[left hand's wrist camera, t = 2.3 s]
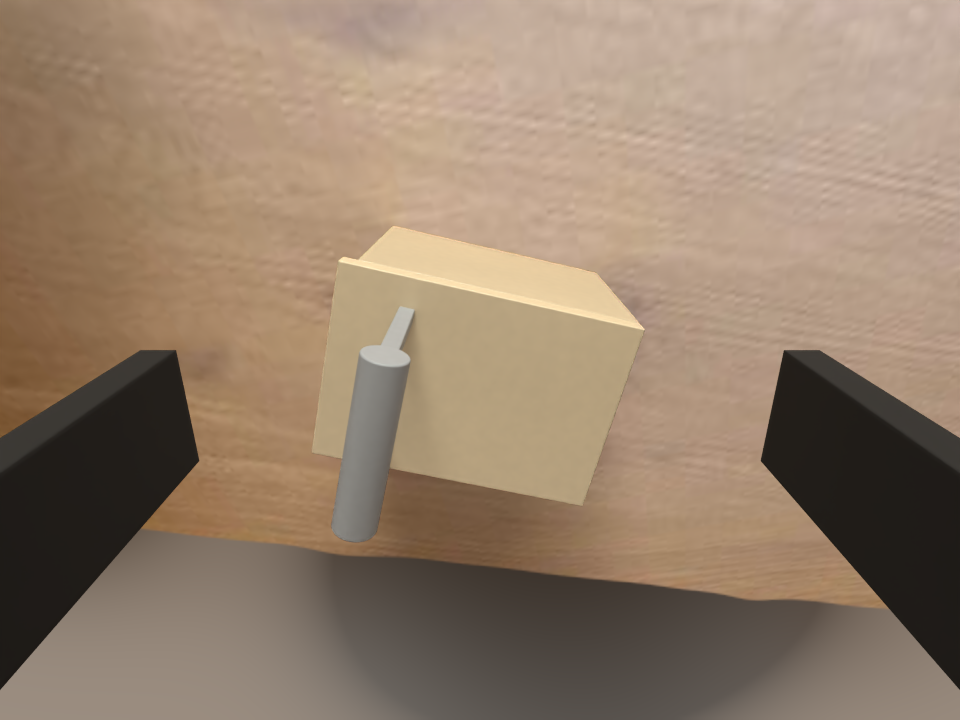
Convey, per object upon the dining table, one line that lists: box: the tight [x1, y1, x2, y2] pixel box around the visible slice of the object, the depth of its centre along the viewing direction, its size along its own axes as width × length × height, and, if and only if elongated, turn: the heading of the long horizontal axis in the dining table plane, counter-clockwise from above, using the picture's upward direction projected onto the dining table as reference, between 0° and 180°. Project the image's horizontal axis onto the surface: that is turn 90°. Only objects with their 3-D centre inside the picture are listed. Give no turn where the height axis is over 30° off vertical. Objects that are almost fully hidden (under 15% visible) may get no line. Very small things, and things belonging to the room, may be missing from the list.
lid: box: [312, 257, 645, 542], centre depth 23 cm, size 14×10×8 cm
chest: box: [358, 226, 639, 323], centre depth 32 cm, size 13×10×10 cm
